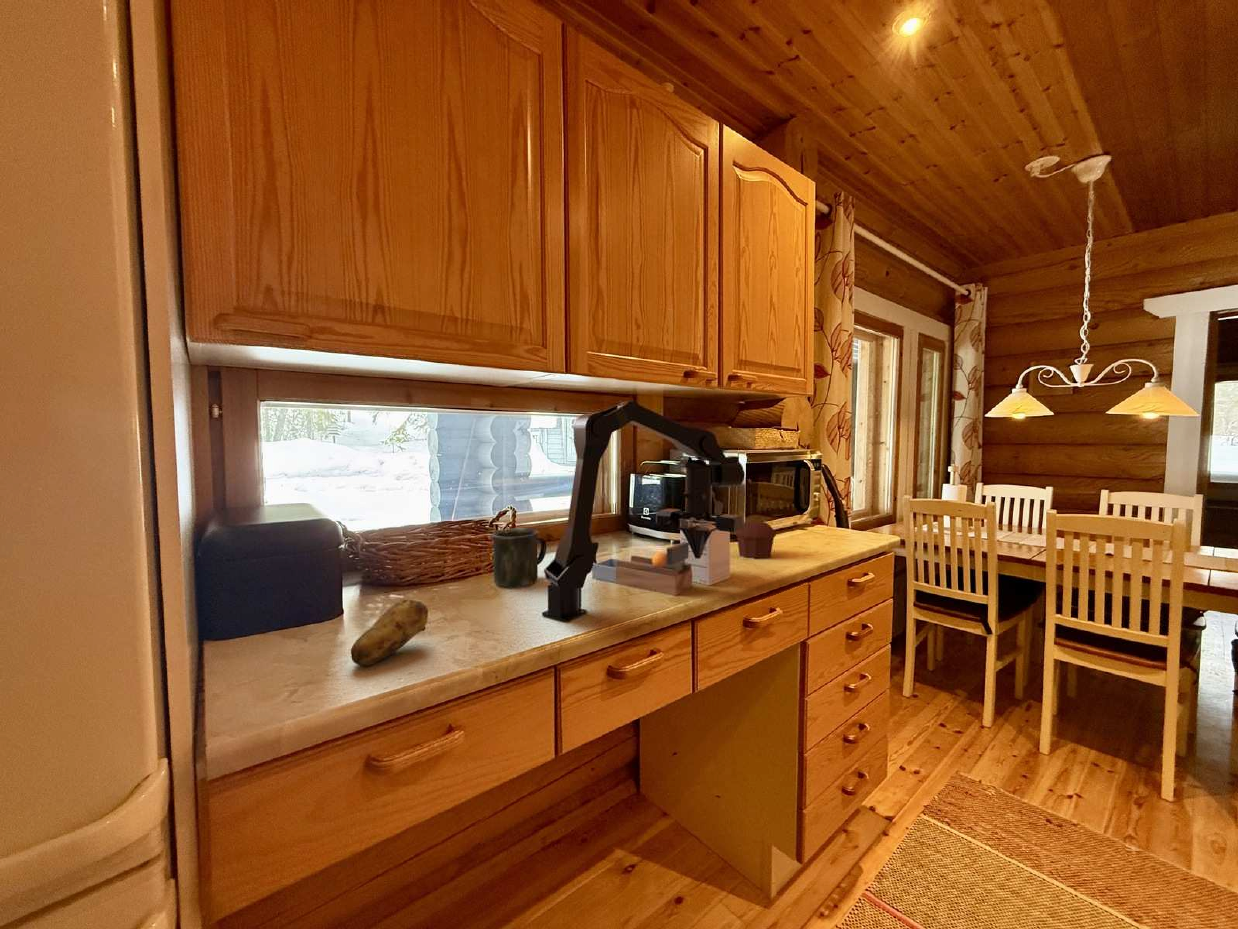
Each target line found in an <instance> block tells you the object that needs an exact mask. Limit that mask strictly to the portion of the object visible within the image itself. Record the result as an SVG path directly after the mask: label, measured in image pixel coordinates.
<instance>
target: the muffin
mask: <svg viewBox="0 0 1238 929" xmlns="http://www.w3.org/2000/svg"><path fill="white" fill-rule="evenodd" d="M734 533H735V535H736V538H737V545H738V552H739V556H740V557H742V556H743V558H746V559H751V558H753V559H752V560H765V558H766V559H769V558H771V555H772V550H773V544H774V538H775V537H776V536H777V534H776V531H775V530H774V528H773V527H772V526H771V525H770V524H769V523H767V522H765V521H762V520H756V519H755V520H754V519H753V520H746V521H743V528H742V529H740V530H737V531H735V532H734Z"/></svg>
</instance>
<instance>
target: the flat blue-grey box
mask: <svg viewBox="0 0 1238 929" xmlns="http://www.w3.org/2000/svg"><path fill="white" fill-rule="evenodd" d="M617 561H625V562H630V561H631V560H626V559H625V560H624V559H618V558H613V557H609V558H607V559H604V560H601V561H597V564H595V563H593V568H592V570H591V573H592V577H591V578H592V579H593V578H596V579H595V580H597V579H600V580H599V581H602V580H603V582H609V583H612V582H614V583H613V584H616V566H617Z"/></svg>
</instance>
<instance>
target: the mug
mask: <svg viewBox="0 0 1238 929" xmlns="http://www.w3.org/2000/svg"><path fill="white" fill-rule="evenodd" d="M539 534H540V531H539V530H537V529H533V528H527V527H526V528H522V527H521V528H517V527H516V528H506V529H499V530H496V531H494V532H492V533H491V534H490V536H491V537H492V538H493V539H492V541H493V542H492V543H493V544H492V547H493V551H492V552H493V582H494V583H495V585H496V586H498V587H500V588H501V587H502V588H521V587H527V586H530V585H533V584H535V583H537V580H538V576H539V575H538V574H539V573H538V571H539V570H538V568H539V567H538V566H539V565H540V564H541V563H542V562H543V561H544V559H545V556H546V553H547V541H546V540H545V538H544V537H542V536H541V537H540V536H538V535H539ZM538 541H539V542H540V549H539V554H538Z"/></svg>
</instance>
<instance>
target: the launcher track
mask: <svg viewBox="0 0 1238 929" xmlns="http://www.w3.org/2000/svg"><path fill="white" fill-rule="evenodd" d="M652 559H653V557H651V558H650V557H646V556H640V555H639V556H638V555H631V556H630V560H629V561H630V562H625V561H626V560H625V561H617V566H616V583H615V584H616V585H622V586H626V585H627V586H626V587H632V588H638V589H641V590H645V591H653V592H657V593H662V594H667V595H671V596H677V595H678V594H680V593H682V592H685V591H686V590H688V589H690V588H692V587H693V582H692V569H691V565H689V564H685V570H683V571H681V572H679V573H678V571H677V570H671V569H666V568H660V567H654V565H653V563H652Z"/></svg>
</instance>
